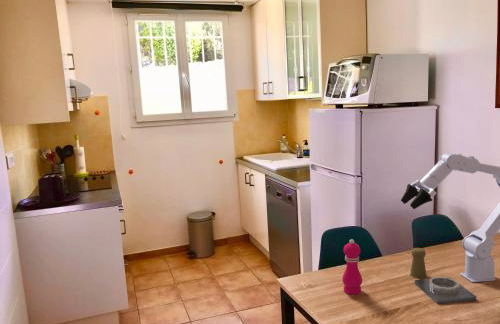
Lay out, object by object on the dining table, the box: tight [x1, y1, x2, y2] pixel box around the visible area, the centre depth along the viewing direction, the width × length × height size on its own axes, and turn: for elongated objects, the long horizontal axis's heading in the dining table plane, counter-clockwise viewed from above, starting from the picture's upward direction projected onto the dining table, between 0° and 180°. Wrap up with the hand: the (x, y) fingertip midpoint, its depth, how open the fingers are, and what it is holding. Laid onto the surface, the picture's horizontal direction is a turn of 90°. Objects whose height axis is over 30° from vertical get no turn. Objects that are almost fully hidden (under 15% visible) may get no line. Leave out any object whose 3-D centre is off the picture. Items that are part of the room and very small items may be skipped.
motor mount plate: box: [414, 276, 477, 305], centre depth 145 cm, size 14×16×4 cm
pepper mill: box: [341, 238, 363, 296], centre depth 147 cm, size 7×7×20 cm
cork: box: [409, 247, 427, 279], centre depth 159 cm, size 6×6×11 cm
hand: (407, 204), depth 150 cm, fingers open, 7 cm apart
